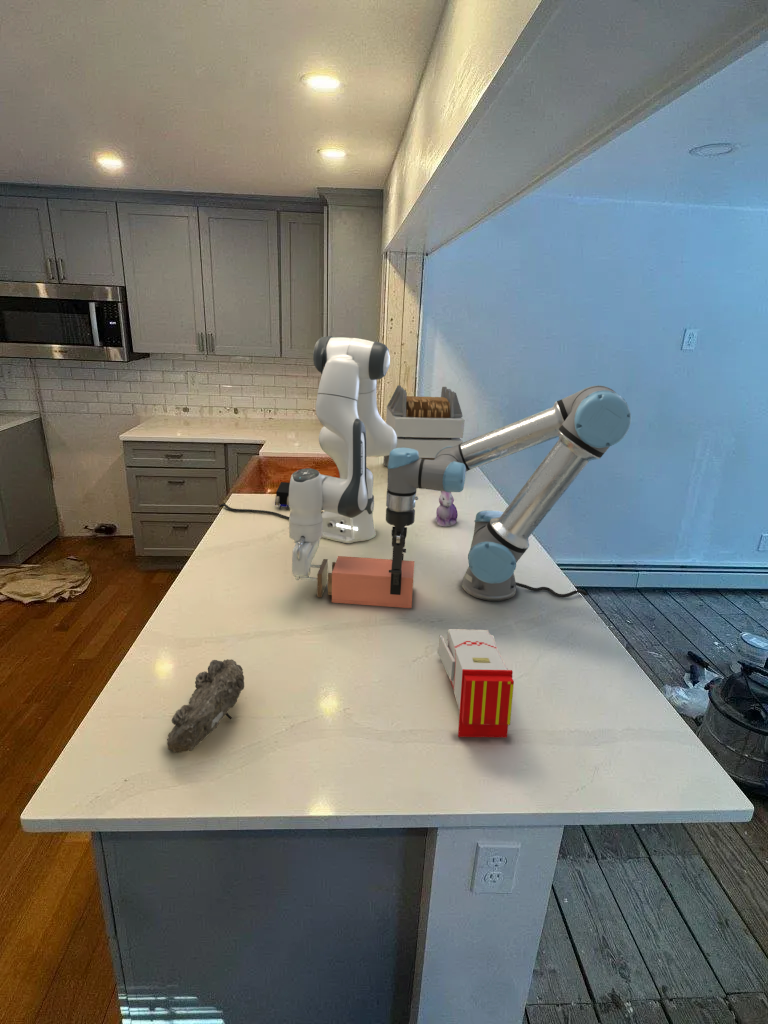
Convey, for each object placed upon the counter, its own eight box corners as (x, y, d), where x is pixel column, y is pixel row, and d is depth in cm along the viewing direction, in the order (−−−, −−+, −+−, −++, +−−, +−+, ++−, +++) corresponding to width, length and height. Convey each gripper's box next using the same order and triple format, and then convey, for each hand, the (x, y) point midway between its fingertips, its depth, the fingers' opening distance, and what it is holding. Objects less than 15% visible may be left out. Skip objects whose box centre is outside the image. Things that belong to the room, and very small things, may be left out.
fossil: (192, 660, 117) (244, 628, 112) (224, 691, 120) (276, 661, 115) (142, 746, 98) (202, 712, 93) (182, 779, 101) (242, 748, 96)
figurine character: (292, 514, 217) (296, 498, 230) (291, 496, 214) (296, 480, 227) (274, 514, 217) (280, 497, 230) (273, 496, 213) (279, 480, 227)
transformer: (382, 463, 289) (386, 382, 275) (445, 464, 293) (451, 384, 279) (390, 482, 257) (394, 392, 243) (460, 483, 261) (468, 394, 247)
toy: (488, 613, 130) (523, 677, 101) (484, 667, 133) (517, 744, 104) (435, 612, 130) (455, 676, 101) (432, 666, 133) (451, 743, 103)
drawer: (295, 595, 153) (294, 572, 150) (302, 579, 161) (302, 557, 159) (391, 602, 151) (393, 579, 149) (393, 586, 160) (395, 563, 158)
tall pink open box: (331, 602, 152) (331, 572, 149) (337, 584, 162) (338, 555, 159) (411, 608, 151) (413, 578, 148) (412, 589, 161) (414, 561, 158)
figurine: (442, 528, 206) (446, 489, 201) (428, 519, 214) (431, 481, 209) (464, 525, 210) (468, 486, 205) (449, 516, 218) (452, 479, 213)
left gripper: (310, 546, 141) (310, 595, 146) (323, 517, 160) (323, 561, 165) (285, 544, 141) (286, 593, 146) (301, 516, 161) (302, 560, 165)
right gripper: (414, 524, 136) (408, 605, 143) (416, 495, 158) (411, 566, 165) (382, 522, 136) (379, 603, 144) (389, 493, 158) (385, 565, 166)
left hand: (306, 576), depth 156 cm, fingers closed, pressing on drawer
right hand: (396, 584), depth 154 cm, fingers closed on tall pink open box, 11 cm apart
